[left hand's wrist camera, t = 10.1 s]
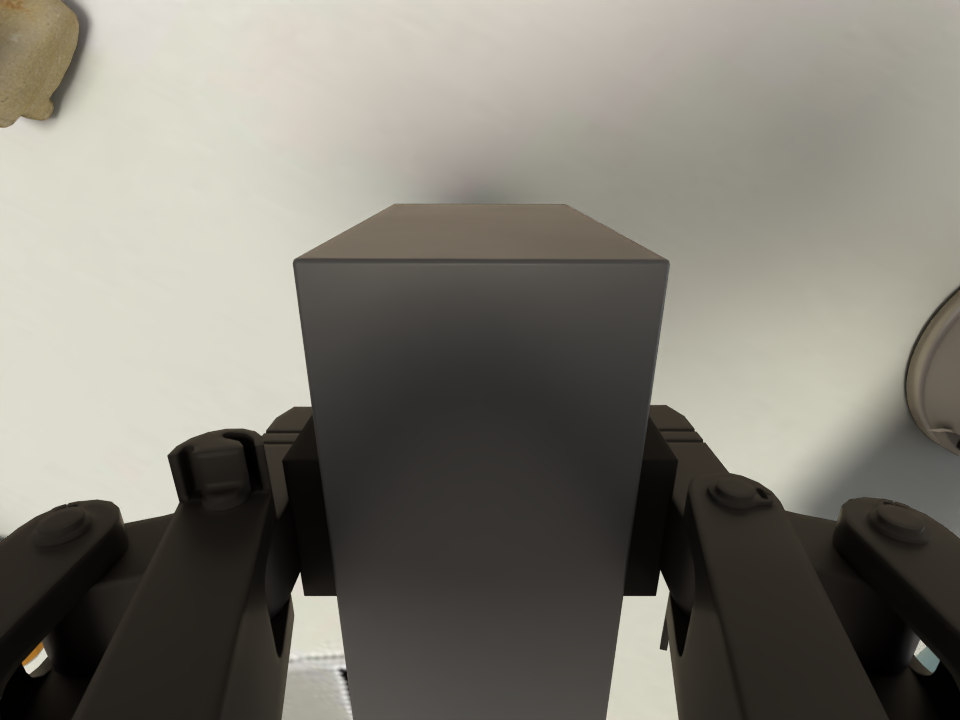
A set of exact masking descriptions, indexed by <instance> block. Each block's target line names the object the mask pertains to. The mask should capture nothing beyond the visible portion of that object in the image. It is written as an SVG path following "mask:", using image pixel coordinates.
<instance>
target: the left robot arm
mask: <svg viewBox="0 0 960 720" xmlns="http://www.w3.org/2000/svg"><path fill="white" fill-rule="evenodd" d="M906 391H907V401H908V406H909V409H910V412H911V415H912V417H913V419H914V421H915V422H916V424H917V425H918V427H919V428H920V429H921V430H922V431H923V433H924V434H925V435H927V436H928V437H929V438H930V439H932V440H933V441H935V442H936V443H938V444H939V445H941V446H943V447H944V448H946V449H947V450H949V451H951V452H952V453H954V454H956V455H958V456H960V290H959V291H958V292H957V293H956V294H955V295H954V296H953V297H951V298H950V300H949V301H948V302H947V303H946V304H945V305H944V306H943V307H942V308H941V309H940V310H939V312H938V313H937V314H936V315H935V316H934V318H933V319H932V321H931V322H930V323H929V325H928V326H927V328H926V329H925V331H924V333H923V334H922V336H921V338H920V340H919V342H918V344H917V346H916V348H915V350H914V353H913V356H912V358H911V362H910V365H909V369H908V375H907V385H906ZM168 460H169V464H170V468H171V471H172V475H173V479H174V483H175V487H176V491H177V494H178V498H179V502H180V503H179V505H178V507H177V509H176V511H175V513H173V514H169V515H165V516H160V517H155V518H150V519H145V520H140V521H135V522H130V523H125V524H124V522H123V519H122V516H121V512H120V509H119V507H117V506H116V505H115V504H114V503H112V502H110V501H103V500H88V501H77V502H72V503H69V504H68V505H66V504H64V505H61V506H58V507H55V508H53V509H52V510H50V511H48V512H46V513H43V514H41V515H39V516H36V517H35V518H33V519H32V520H30V521H29V522H27V523H25V524H24V525H22V526H21V527H19V528H18V529H16V530H15V531H14V532H13V533H11V534H10V535H9V536H8V537H6V538H5V539H4V540H3V541H1V542H0V720H281V719H282V711H283V703H284V695H285V687H286V679H287V671H288V662H289V654H290V646H291V638H292V630H293V622H294V610H293V604H292V598H291V592H292V590H293V587H294V585H295V583H296V580H297V578H298V576H299V573H300V572H301V578H302V584H303V590H304V596H337V593H336V586H335V578H334V570H333V563H332V555H331V548H330V540H329V533H328V525H327V518H326V510H325V502H324V495H323V487H322V480H321V472H320V465H319V457H318V450H317V442H316V434H315V427H314V419H313V412H312V407H293V408H292V409H290V410H288V411H287V412H285V413H283V414H282V415H280V416H279V417H277V418H276V419H275V420H274V421H273V423H272V424H271V425H270V427H269V428H268V429H267V430H266V433H264V434H263V435H262V436H261V435H259V434H258V433H257V432H255V431H251V430H247V429H223V430H218V431H212V432H207V433H205V434H202V435H199V436H196V437H193V438H191V439H189V440H187V441H185V442H184V443H182V444H180V445H178V446H176V447H175V449H174V450H173V451H172V452H171V453H170V454H169V455H168ZM660 570H661V572H662V575H663V577H664V579H665V581H666V584H667V586H668V588H669V591H670V592H669V598H668V604H667V609H666V615H665V620H664V626H663V632H662V637H661V644H660V649H662V650H667V646H668V641H669V645H670V653H671V661H672V669H673V677H674V685H675V693H676V702H677V710H678V718H679V720H960V538H958V537H957V536H956V535H955V534H953V533H952V532H951V531H949V530H948V529H947V528H946V527H944V526H943V525H941V524H940V523H938V522H937V521H935V520H934V519H932V518H930V517H929V516H927V515H926V514H924V513H921V512H919V511H917V510H914V509H912V508H910V507H909V506H907V505H905V504H901V503H898V502H893V501H891V500H886V499H876V498H867V497H862V498H856V499H850V500H848V501H847V502H846V503H845V504H843V505H842V508H841V511H840V514H839V517H838V520H837V521H832V520H827V519H822V518H817V517H812V516H807V515H801V514H796V513H793V512H789V511H785V510H784V508H783V506H782V504H781V502H780V501H779V499H778V498H777V497H776V496H775V495H774V493H773V492H772V491H770V490H769V489H767V488H766V487H764V486H763V485H761V484H760V483H758V482H756V481H754V480H751V479H749V478H746V477H744V476H741V475H736V474H732V473H729V472H728V471H727V469H726V468H725V467H724V466H723V464H722V463H721V462H720V461H719V459H718V458H717V457H716V456H715V454H714V453H713V452H712V451H711V449H710V448H709V447H708V445H707V444H706V443H703V439H702V438H701V437H700V435H699V434H698V433H697V432H695V431H694V428H693V427H692V425H691V424H690V423H689V421H688V420H687V419H686V418H685V416H683V415H682V414H680V413H678V412H677V411H675V410H673V409H672V408H670V407H668V406H667V405H650V409H649V416H648V423H647V430H646V437H645V444H644V451H643V459H642V466H641V473H640V480H639V487H638V494H637V501H636V508H635V515H634V523H633V530H632V537H631V544H630V551H629V558H628V565H627V572H626V580H625V587H624V594H623V596H656V592H657V586H658V580H659V574H660ZM920 639H921V640H922V642H923V643H924V644H925V645H926V646H927V647H926V648H925V649H923V650H922V651H921V652H920V653H919V654H918V655H917V656H916V657H915V656H914V652H915V650H916V648H917V645H918V643H919V641H920ZM41 642H42V644H43V646H44V649H45V651H46V653H47V656H48V657H47V658H46V659H45V660H44V661H43V663H42V664H41V665H40V666H39V667H38V668H37V669H35V670H34V671H33V672H32V673H31V674H28V673H26V671H25V669H24V667H23V665H22V662H23V661H24V660H25V659H26V658H27V657H28V656H29V655H30V654H31V653H32V651H33V650H34V649H35V648H36V647H37V646H38V645H39V644H40V643H41Z"/></svg>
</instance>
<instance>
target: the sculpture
mask: <svg viewBox="0 0 960 720" xmlns="http://www.w3.org/2000/svg"><path fill="white" fill-rule="evenodd" d="M78 34H79V23H78V19H77V16H76V15H75V13H74V12H73V11H72V10H71V9H70V8H69V7H67V6H66V5H65V4H64V3H63V2H62V1H61V0H0V127H2V128H5V127H9V126H11V125H12V124H14V123H15V121H16V120H17V119H18V118H19V117H20V116H23V117H26V118H29V119H35V120H41V121H42V120H46V119H48V118H49V117H50V116H51V114H52V111H53V107H54V106H53V103H52V101H51V100H50V99H49V98H50V97H51V95H52V94H53V92H54V91H55V90H56V89H57V87H58V86H59V84H60V83H61V81H62V79H63V76H64V74H65V72H66V70H67V68H68V67H69V65H70V63H71V60H72V57H73V54H74V51H75V49H76V46H77V42H78Z"/></svg>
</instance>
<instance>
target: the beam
mask: <svg viewBox="0 0 960 720" xmlns="http://www.w3.org/2000/svg"><path fill="white" fill-rule="evenodd" d="M669 266H670V263H669V261H668V260H667V259H665V258H663V257H661V256H659V255H658V254H656V253H654V252H652V251H650V250H648V249H647V248H645V247H643V246H641V245H639V244H637V243H636V242H634V241H632V240H630V239H628V238H626V237H625V236H623V235H621V234H619V233H617V232H615V231H614V230H612V229H610V228H608V227H606V226H604V225H603V224H601V223H599V222H597V221H595V220H594V219H592V218H590V217H588V216H586V215H584V214H583V213H581V212H579V211H577V210H575V209H573V208H572V207H570V206H568V205H566V204H394V205H392V206H390V207H388V208H386V209H385V210H383V211H381V212H379V213H377V214H376V215H374V216H372V217H370V218H368V219H366V220H365V221H363V222H361V223H359V224H357V225H356V226H354V227H352V228H350V229H348V230H347V231H345V232H343V233H341V234H339V235H337V236H336V237H334V238H332V239H330V240H328V241H327V242H325V243H323V244H321V245H319V246H318V247H316V248H314V249H312V250H310V251H309V252H307V253H305V254H303V255H301V256H299V257H298V258H296V259H294V261H293V268H294V276H295V283H296V291H297V298H298V306H299V314H300V321H301V329H302V336H303V344H304V351H305V359H306V366H307V374H308V382H309V389H310V397H311V404H312V412H313V419H314V427H315V434H316V442H317V450H318V457H319V465H320V472H321V480H322V487H323V495H324V502H325V510H326V518H327V525H328V533H329V540H330V548H331V555H332V563H333V570H334V578H335V586H336V593H337V601H338V608H339V616H340V623H341V631H342V638H343V646H344V654H345V661H346V669H347V676H348V684H349V691H350V699H351V706H352V714H353V720H606V715H607V708H608V701H609V693H610V686H611V679H612V672H613V665H614V658H615V651H616V644H617V636H618V629H619V622H620V615H621V608H622V601H623V594H624V587H625V580H626V572H627V565H628V558H629V551H630V544H631V537H632V530H633V523H634V515H635V508H636V501H637V494H638V487H639V480H640V473H641V466H642V459H643V451H644V444H645V437H646V430H647V423H648V416H649V409H650V402H651V395H652V387H653V380H654V373H655V366H656V359H657V352H658V345H659V338H660V330H661V323H662V316H663V309H664V302H665V295H666V288H667V281H668V274H669Z"/></svg>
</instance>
